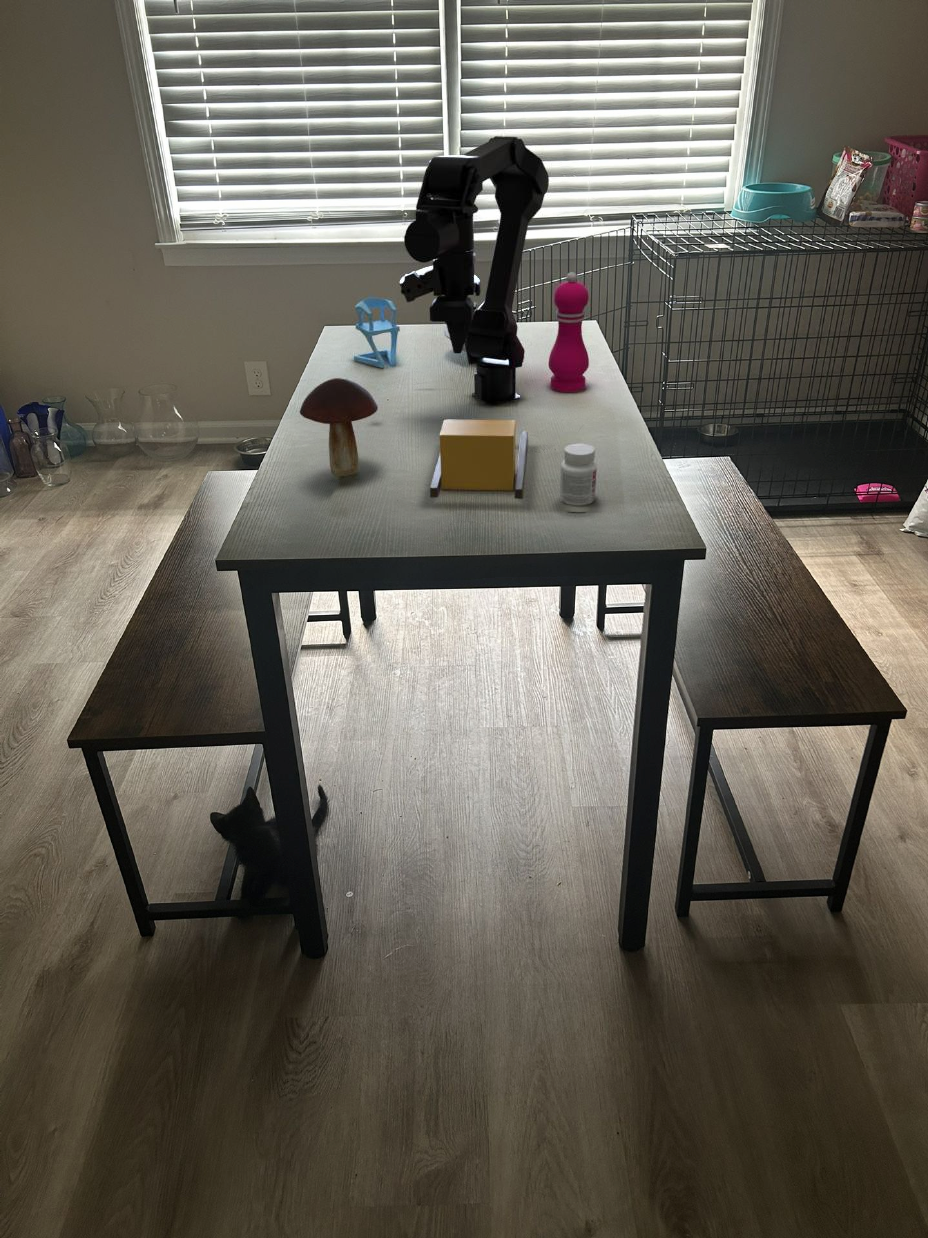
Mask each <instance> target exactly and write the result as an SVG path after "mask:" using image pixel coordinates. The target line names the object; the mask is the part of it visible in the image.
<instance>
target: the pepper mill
mask: <svg viewBox="0 0 928 1238" xmlns="http://www.w3.org/2000/svg"><path fill="white" fill-rule="evenodd" d="M577 280H578V275H577V274H576V272H574V271H571V272H568V274H566V281H563V282H561V283H560V284H559V285H558V286H557V287H556V288H555V290H554V292H553V303H554V306H555V307H556V308H557V310H556V311H555V314H556V316H555V319H556V321H557V325H558V328H557V335H556V337H555V338H556V339H555V340H554V341H555V342H554V344H553V346H552V347H551V350H550V353H549V357H548V365H547V366H548V368H549V370H550V372H551V373H552V375H551V377H550V388H551V389H552V390H553V391H556V392H560V393H576V392H580V391H583V390H584V389H585V388H586V376H585V375H584V374H585V373H586V372H587V370H588V369H589V366H590V358H589V353H588V350H587V347H586V345H585V342H584V338H583V330H582V328H583V327H582V326H583V321H584V320H585V318H586V316H585V314H586V311H585V310H584V309H585V307H586V306H587V305H588V303H589V291H588V289H587V287H586V285H584V284H583V283H581V282H579V281H577Z"/></svg>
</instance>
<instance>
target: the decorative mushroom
mask: <svg viewBox="0 0 928 1238" xmlns="http://www.w3.org/2000/svg"><path fill="white" fill-rule="evenodd" d="M378 409H379V406H378V403H377V402H376V399H374V397H373V396H372V395H371V393H370V392H369V390H367V389H366V388H365V387H363V386H361V384H359V383H357V382H355V381H352V380H349V379H347V378H341V377H333V378H330V379H328V380H325V381H323V382H321V383H319V385H317V386H316V387H314V388H313V390H311V391H310V392H309V393H308V394H307V396H306V397H305V398H304V400H303V401H302V404H301V407H300V409H299V414H300V416H301V417H303V418H305V419H307V420H310V421H313V422H316V423H320V424H325V425H329V431H328V456H329V457H328V459H329V468H330V472H331V474H332V476H333V477H334V478H336V480H337V479H338V480H341V478H342V477H348V476H352V475H355V474H357V473H358V472H359V471H360V460H359V451H358V445H357V440H356V435H355V431H354V427H353V426H354V425H353V422H356V421H360V420H364V419H367V418H369V417H371V416H373V415H375V414H376V413H377V411H378Z"/></svg>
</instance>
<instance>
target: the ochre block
mask: <svg viewBox="0 0 928 1238" xmlns="http://www.w3.org/2000/svg"><path fill="white" fill-rule="evenodd" d="M516 421H517V420H515V419H444V420H443V423H442V426H441V430H440V432H439V455H440V460H441V486H440V487H441V490H453V491H454V490H457V491H459V490H461V491H508V492H509V491H511V492H512V491H514V490H515V481H516V443H517V442H516V438H517V437H516V435H517V434H516V431H517V430H516V429H517V427H516V426H517V425H516Z"/></svg>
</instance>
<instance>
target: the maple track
mask: <svg viewBox="0 0 928 1238" xmlns="http://www.w3.org/2000/svg"><path fill="white" fill-rule="evenodd" d="M528 434H529V432H528V431H521V432H520V440H519V447H518V458H517V467H516V474H515V483H514V499H523V493H524V483H525V471H526V461H527V449H528V438H529V437H528ZM441 487H442V486H441V460H440V454H439V456H438V460H437V462H436V466H435V469H434V472H433V476H432V480H431V483H430V486H429V496H430V498H438V496H439V493H440V489H441Z"/></svg>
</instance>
